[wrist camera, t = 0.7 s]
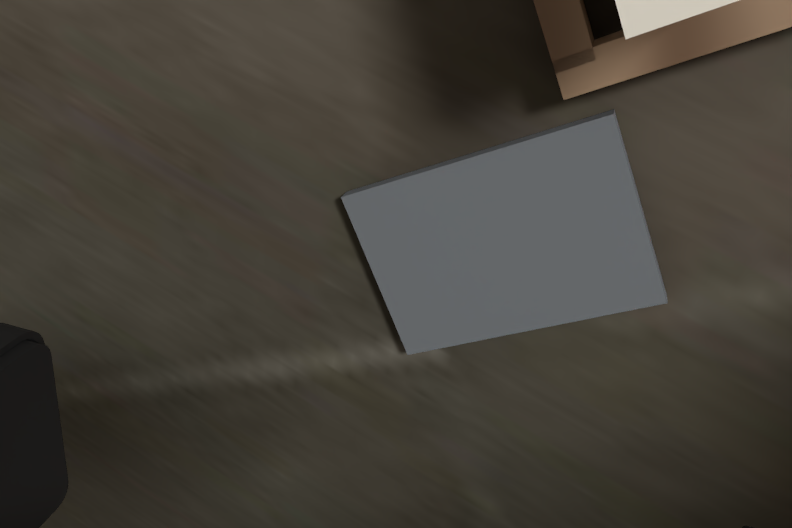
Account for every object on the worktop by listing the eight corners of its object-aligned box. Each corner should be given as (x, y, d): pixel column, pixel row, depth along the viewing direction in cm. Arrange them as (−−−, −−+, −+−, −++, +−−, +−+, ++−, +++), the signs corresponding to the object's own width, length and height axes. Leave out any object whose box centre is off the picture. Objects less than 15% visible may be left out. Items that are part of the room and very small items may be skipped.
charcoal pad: (614, 109, 31) (613, 113, 30) (666, 294, 33) (667, 302, 33) (346, 191, 36) (340, 197, 35) (411, 346, 38) (407, 354, 38)
